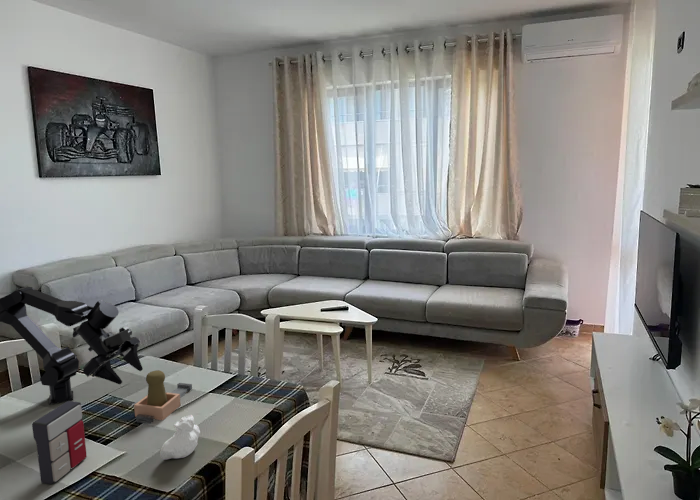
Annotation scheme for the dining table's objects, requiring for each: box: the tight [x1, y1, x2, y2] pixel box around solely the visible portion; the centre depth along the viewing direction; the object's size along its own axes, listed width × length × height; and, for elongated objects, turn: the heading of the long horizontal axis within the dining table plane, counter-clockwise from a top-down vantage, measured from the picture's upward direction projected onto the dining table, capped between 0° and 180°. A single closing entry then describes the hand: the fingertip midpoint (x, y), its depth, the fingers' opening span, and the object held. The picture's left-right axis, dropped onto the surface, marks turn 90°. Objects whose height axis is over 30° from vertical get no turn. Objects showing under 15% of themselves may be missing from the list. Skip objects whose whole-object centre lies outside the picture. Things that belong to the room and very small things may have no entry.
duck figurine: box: [159, 414, 201, 461], centre depth 122 cm, size 12×8×11 cm
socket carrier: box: [133, 391, 181, 421], centre depth 144 cm, size 9×9×4 cm
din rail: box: [135, 382, 193, 425], centre depth 148 cm, size 4×22×2 cm, turn 167°
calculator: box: [31, 400, 88, 485], centre depth 115 cm, size 11×4×15 cm, turn 168°
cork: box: [145, 370, 168, 407], centre depth 143 cm, size 6×6×11 cm
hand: (131, 376), depth 145 cm, fingers open, 9 cm apart
